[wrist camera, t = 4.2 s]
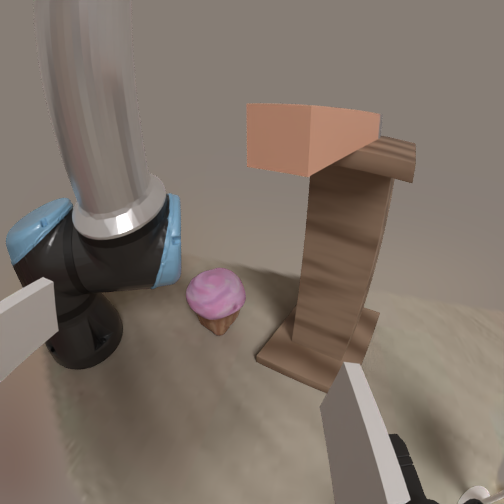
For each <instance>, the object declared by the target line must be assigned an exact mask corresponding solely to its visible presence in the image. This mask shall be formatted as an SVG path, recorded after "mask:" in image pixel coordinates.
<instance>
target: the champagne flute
mask: <svg viewBox="0 0 504 504" xmlns="http://www.w3.org/2000/svg"><path fill="white" fill-rule="evenodd" d="M474 498H475V499H478V500H480V501H481V502H482V503H483V504H490V503H493V502H495V501H497V500H500V499H502V498H504V490H502V491H500V492H498V493H496V494H494V495H492V496H490V494H489V492H488V490H487V489H486V488H485V487H483V486H474V487H472V488H470V489H468V490H467V491H466V492H465V493H464V494H463V495H462V496H461V498H460V499H459V501H458V504H463V503H465V502H466V501H468V500H469V499H474Z"/></svg>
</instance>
